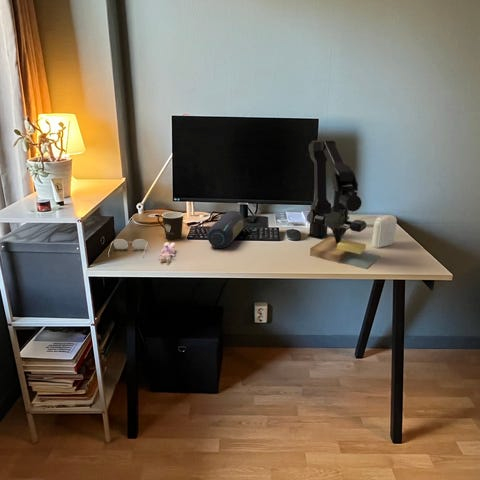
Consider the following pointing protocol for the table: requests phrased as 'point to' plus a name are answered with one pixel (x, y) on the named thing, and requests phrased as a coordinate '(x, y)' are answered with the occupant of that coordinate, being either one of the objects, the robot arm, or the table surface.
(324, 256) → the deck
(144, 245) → the sunglasses
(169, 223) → the coffee mug
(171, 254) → the rabbit figure
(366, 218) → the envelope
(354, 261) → the mat
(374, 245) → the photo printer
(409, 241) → the table surface
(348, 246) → the pale yellow foam brick
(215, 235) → the portable speaker
